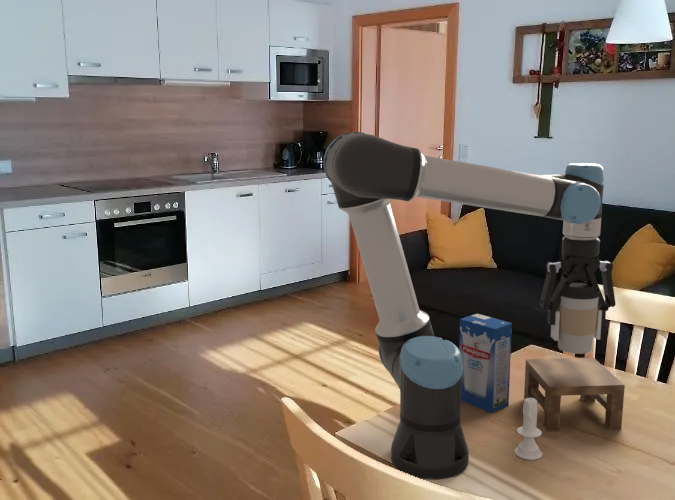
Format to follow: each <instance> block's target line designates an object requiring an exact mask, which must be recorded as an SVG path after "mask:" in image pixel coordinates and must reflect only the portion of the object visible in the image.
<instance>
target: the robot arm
mask: <svg viewBox="0 0 675 500" xmlns="http://www.w3.org/2000/svg"><path fill="white" fill-rule="evenodd" d="M323 170H324V173H325V176H326V177H327V180H328V181H330V184H331V186H332V190H333V192H334V196H335V200H336V202H337V203H336V204H337V205H338V209H339V210H341V211H343V212H345V213H347V214H348V216H349V217H348V218H349V220H350V224H351V226H352V227H351V228H352V230H353V234H354V236H355V241H356V243H357V247H358V251H359V255H360V258H361V261H362V264H363V265H362V266H363V268H364V271H365V274H366V278H367V282H368V285H369V288H370V292H371V294H372V298H373V302H374V306H375V308H376V313H377V315H378V319H379V321H378V323H377V325H376V326H375V329H374V333H375V334H376V338H377V343H378V349H377V350H378V355H379V358H380V361H381V363H382V365H383V367H384V368H385V369H386V370H387V372H388V373H389V374H390V376H391V377H392V379H393V381H394V383H395V384H396V385H397V386H398V389H399V394H400V395H399V398H400V400H399V402H400V405H399V408H400V409H399V413H400V414H399V422H398V426H397V428H396V431H395V434H394V437H393V440H392V443H391V447H390V460H391V463H392V464H393V465H394V466H395V468H397V470H399V471H400V472H402V471H404V472H406V473H409V474H411V475H410V476H412V475H414V476H413V477H415V476H417V477H416V478H420V479H426V480H427V479H428V480H438V479H446V478H450V477H455V476H457V475H460V473H462V472H464V471H465V470H466V469H467V467H468V466H469V461H470V459H469V457H470V454H469V453H470V452H469V451H470V450H469V446H468V444H467V441H466V438H465V434H464V430H463V428H462V424H461V417H462V416H461V415H462V412H461V411H462V401H461V387H462V373H463V366H462V357H461V353H460V351H459V348H458V346H457V345H456V344H454V343H453V342H452V341H450V340H447V339H443V338H442V337H439V336H435V334H434V330H433V327H432V323H431V322H432V321H431V319H430V315H429V314H428V313H427V312H425V311H423V310H422V309H421V310H420V307H419V303H418V299H417V296H416V292H415V289H414V285H413V282H412V278H411V274H410V270H409V267H408V263H407V260H406V257H405V253H404V250H403V249H404V248H403V244H402V243H401V242H402V241H401V238H400V234H399V230H398V228H397V223H396V220H395V216H394V213H393V209H392V206H391V200H397V201H403V202H411V201H413V200H414V199H415V198H421V199H429V200H434V201H442V202H445V203H446V202H448V203H453V204H459V205H467V206H473V207H479V208H484V209H486V208H487V209H492V210H499V211H505V212H511V213H517V214H524V215H531V216H536V217H537V216H538V217H543V218H549V219H554V220H559V221H563V224H562V234H563V237H562V240H561V257H560V259H559V261H557V262H550V261H548V262H547V263H546V265H545V266H546V275H545V280H544V283H543V287H542V290H541V291H542V292H541V295H540V300H539V305H540V307H541V308H543V309H545V310H547V323H548V325H549V326H550V338H551V339H552V340H554V342H555V341H556V342H558V340H559V321H560V312H559V311H558V310H557V308H558V306H559V304H560V302H561V296H560V294H561V291H564V289H565V287H566V286H569V285H570V284H571V283H572V282H573V280H580V279H582V280H584V281H586V282H588V284H589V285H591V286H593V285H595V287H596V289H597V290H600V293H599V294H600V296H599V299H598V312H597V319H596V326H595V332H594V334H593V339H595V340H601V332H602V331H601V330H602V324H605V323H606V315H607V311H609V310H610V308H611V307H612V308H614V307H615V306H616V297H615V296H616V295H615V289H614V281H613V276H612V273H613V270H614V269H613V268H614V265H613V263H612V262H610V261H608V260H603V261H602V260H600V258H599V255H600V247H601V246H600V244H601V240H600V239H599V237H600V236H601V230H602V229H601V225H602V210H603V199H604V198H603V197H604V195H603V194H604V188H605V181H604V180H605V178H604V177H605V174H604V173H605V171H604V168H603V166H602V165H601V164H598V163H589V162H585V163H584V162H581V163H580V162H579V163H577V162H575V163H568V164H567V165H566V168H565V171H564V173H560V174H535V173H534V174H533V173H532V174H531V173H527V172H521V171H516V170H511V169H505V168H500V167H499V168H498V167H493V166H486V165H481V164H475V163H470V162H464V161H459V160H452V159H446V158H441V157H435V156H430V155H424V154H423V153H422V151H421V149H419V148H417V147H410V146H406V145H403V144H400V143H399V144H398V143H396V142H394V141H393V142H392V141H390V140H387V139H384V138H383V137H382V138H381V137H379V136H377V135H375V134H368V133H365V132H360V131H352V132H345V133H344V134H341V135H339V136H338V137H336V138H334V140H333V141H331V143H329V145H328V146H327V148H326V150H325V153H324V156H323ZM560 268H561V270H562V271H563V273H562V274H561V276H560V280H559V282H558V284H557V286H556V288H555V290H554V287H555V283H556V279H557V273H559V270H560ZM598 269H599V270H600V272H601V279H602V280H601V281H602V287H603V293H602V291H601V289H600V286H599V284H598V280H597V277H596V275H595V273H596V271H597V270H598ZM557 289H558V290H559V291H558V290H557ZM553 291H554V292H553ZM404 472H403V473H404ZM406 473H405V474H406ZM409 474H408V475H409Z"/></svg>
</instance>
